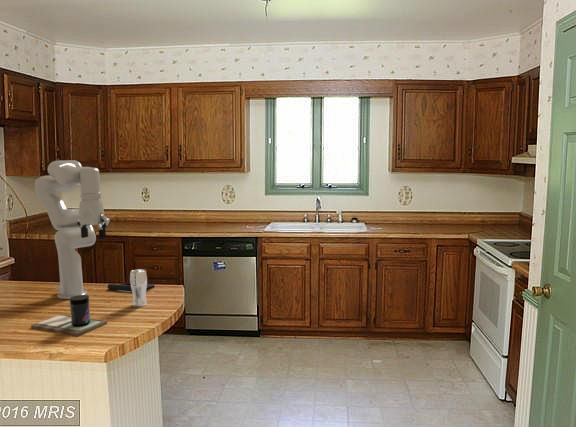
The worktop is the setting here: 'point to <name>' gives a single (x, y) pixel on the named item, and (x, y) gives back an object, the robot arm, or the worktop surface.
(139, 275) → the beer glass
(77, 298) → the supplement container
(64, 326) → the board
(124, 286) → the door handle
